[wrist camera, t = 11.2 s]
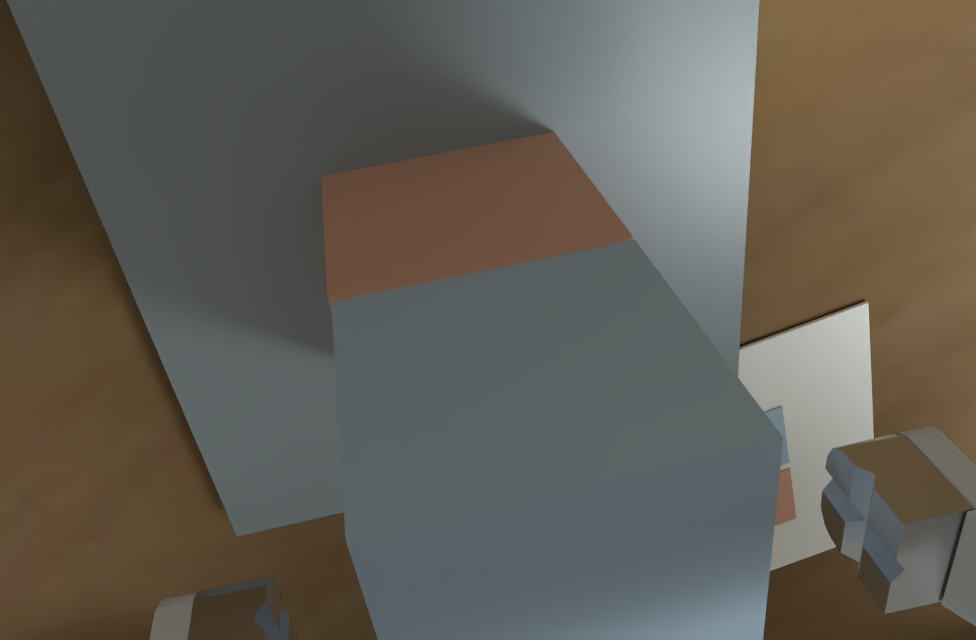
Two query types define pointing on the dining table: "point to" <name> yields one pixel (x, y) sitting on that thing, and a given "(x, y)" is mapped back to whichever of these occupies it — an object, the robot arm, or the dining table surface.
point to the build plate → (365, 143)
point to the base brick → (459, 215)
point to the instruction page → (811, 415)
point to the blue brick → (551, 459)
